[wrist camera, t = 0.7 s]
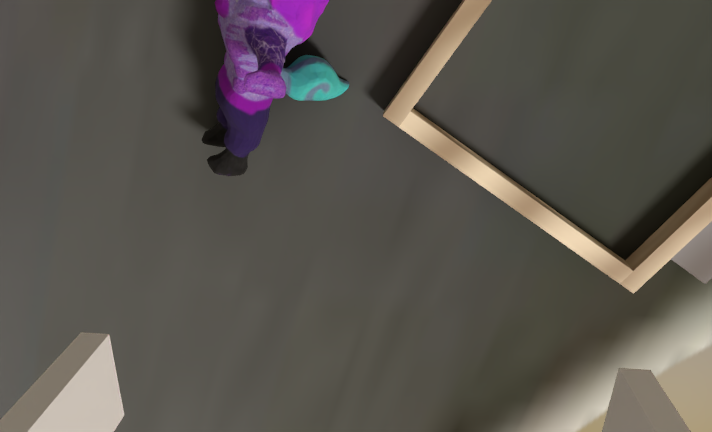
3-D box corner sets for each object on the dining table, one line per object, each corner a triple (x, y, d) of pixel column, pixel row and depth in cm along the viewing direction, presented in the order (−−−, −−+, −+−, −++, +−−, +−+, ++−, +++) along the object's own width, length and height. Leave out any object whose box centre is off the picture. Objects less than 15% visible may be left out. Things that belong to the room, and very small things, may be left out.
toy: (152, 90, 36) (214, -152, 27) (284, 113, 41) (372, -83, 32) (178, 223, 29) (272, -43, 20) (332, 230, 34) (461, 21, 25)
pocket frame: (383, 111, 34) (382, 115, 33) (651, -266, 26) (665, -280, 25) (657, 305, 38) (667, 317, 36) (971, 24, 29) (998, 26, 28)
